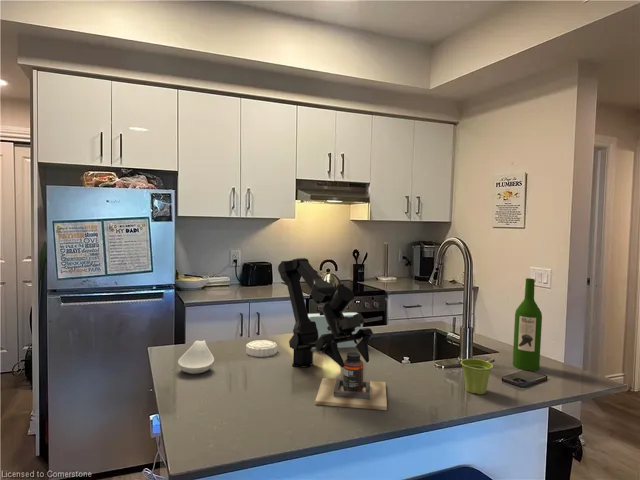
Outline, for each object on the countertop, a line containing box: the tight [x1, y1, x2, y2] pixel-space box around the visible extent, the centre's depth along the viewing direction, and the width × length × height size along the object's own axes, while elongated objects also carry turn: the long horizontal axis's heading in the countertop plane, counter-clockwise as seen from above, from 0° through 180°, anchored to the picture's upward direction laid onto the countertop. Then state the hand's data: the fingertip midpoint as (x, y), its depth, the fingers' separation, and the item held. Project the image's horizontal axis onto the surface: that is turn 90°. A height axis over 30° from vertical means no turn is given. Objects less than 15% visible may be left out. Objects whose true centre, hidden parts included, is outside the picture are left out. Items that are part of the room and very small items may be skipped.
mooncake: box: [245, 339, 278, 358], centre depth 167 cm, size 12×12×4 cm
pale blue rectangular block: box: [308, 312, 364, 350], centre depth 176 cm, size 23×6×13 cm, turn 104°
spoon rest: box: [177, 340, 215, 375], centre depth 150 cm, size 24×12×7 cm, turn 11°
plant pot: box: [460, 358, 494, 395], centre depth 134 cm, size 9×9×9 cm
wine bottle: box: [512, 277, 543, 372], centre depth 157 cm, size 9×9×32 cm
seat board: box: [314, 377, 388, 411], centre depth 129 cm, size 20×18×2 cm
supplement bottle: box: [342, 351, 364, 392], centre depth 129 cm, size 6×6×11 cm
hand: (356, 364), depth 127 cm, fingers open, 9 cm apart
